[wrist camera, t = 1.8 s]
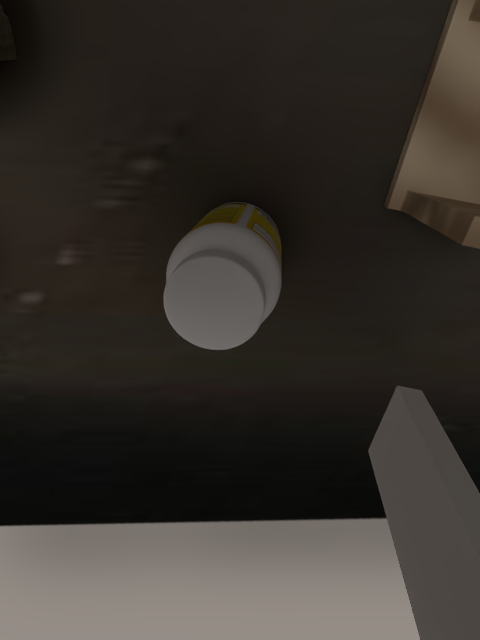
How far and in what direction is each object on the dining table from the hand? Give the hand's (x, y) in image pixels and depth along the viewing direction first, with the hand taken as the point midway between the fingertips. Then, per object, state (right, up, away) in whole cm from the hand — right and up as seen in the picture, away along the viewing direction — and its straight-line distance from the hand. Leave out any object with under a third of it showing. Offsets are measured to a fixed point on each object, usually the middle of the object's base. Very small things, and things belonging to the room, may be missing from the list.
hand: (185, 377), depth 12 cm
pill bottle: (+2, +7, +15) cm, 17 cm away
